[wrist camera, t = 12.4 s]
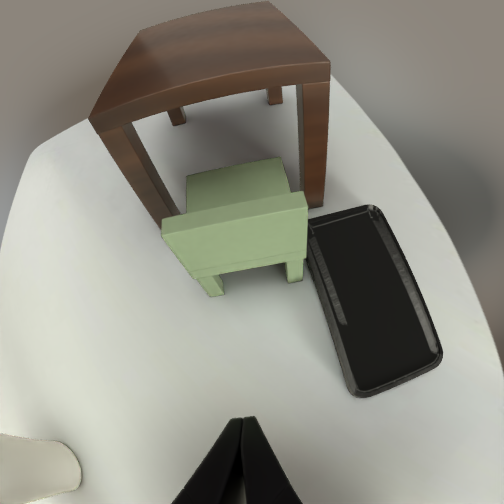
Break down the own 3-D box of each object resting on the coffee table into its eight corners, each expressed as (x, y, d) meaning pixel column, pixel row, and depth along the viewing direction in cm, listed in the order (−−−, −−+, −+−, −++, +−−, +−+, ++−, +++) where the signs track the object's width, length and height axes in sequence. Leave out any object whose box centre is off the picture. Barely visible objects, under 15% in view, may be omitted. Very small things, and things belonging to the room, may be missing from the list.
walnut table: (323, 207, 27) (330, 61, 14) (165, 238, 27) (87, 118, 15) (280, 96, 36) (268, 0, 24) (173, 118, 37) (139, 30, 25)
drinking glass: (33, 445, 18) (-88, 426, 5) (67, 423, 19) (-72, 398, 6) (62, 503, 15) (-59, 513, 2) (102, 487, 16) (-39, 507, 3)
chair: (305, 280, 23) (308, 207, 15) (207, 297, 24) (160, 236, 16) (283, 194, 28) (276, 111, 20) (202, 210, 28) (168, 135, 20)
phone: (376, 202, 25) (447, 362, 17) (374, 209, 26) (440, 364, 18) (294, 223, 25) (352, 403, 17) (294, 230, 26) (350, 402, 18)
